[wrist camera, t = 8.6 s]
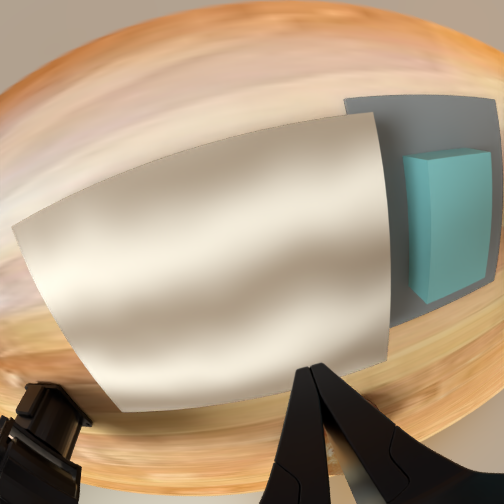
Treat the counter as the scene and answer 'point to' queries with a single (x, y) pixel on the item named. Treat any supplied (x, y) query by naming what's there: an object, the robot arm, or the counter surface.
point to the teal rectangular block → (448, 219)
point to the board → (223, 266)
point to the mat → (421, 141)
